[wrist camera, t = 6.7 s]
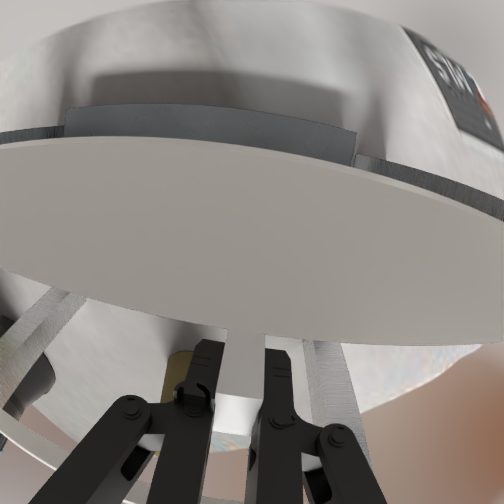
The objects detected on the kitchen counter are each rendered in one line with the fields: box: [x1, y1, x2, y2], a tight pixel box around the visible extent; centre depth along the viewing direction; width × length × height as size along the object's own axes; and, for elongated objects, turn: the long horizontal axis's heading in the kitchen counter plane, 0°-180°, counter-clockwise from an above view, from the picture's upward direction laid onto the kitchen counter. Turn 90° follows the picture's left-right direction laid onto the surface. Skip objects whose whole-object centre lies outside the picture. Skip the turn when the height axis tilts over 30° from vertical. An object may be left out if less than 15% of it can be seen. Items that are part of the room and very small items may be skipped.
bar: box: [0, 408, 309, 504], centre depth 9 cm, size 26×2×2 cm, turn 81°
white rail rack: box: [0, 104, 504, 472], centre depth 13 cm, size 28×19×17 cm
